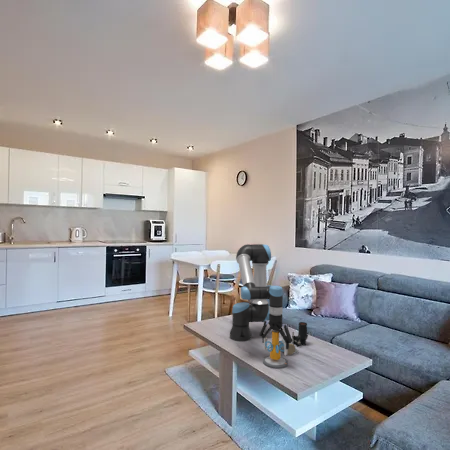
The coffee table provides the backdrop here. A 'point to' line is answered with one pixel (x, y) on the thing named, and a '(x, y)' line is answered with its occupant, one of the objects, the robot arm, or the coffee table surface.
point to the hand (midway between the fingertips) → (275, 351)
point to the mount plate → (275, 362)
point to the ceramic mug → (291, 348)
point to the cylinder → (275, 346)
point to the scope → (300, 335)
